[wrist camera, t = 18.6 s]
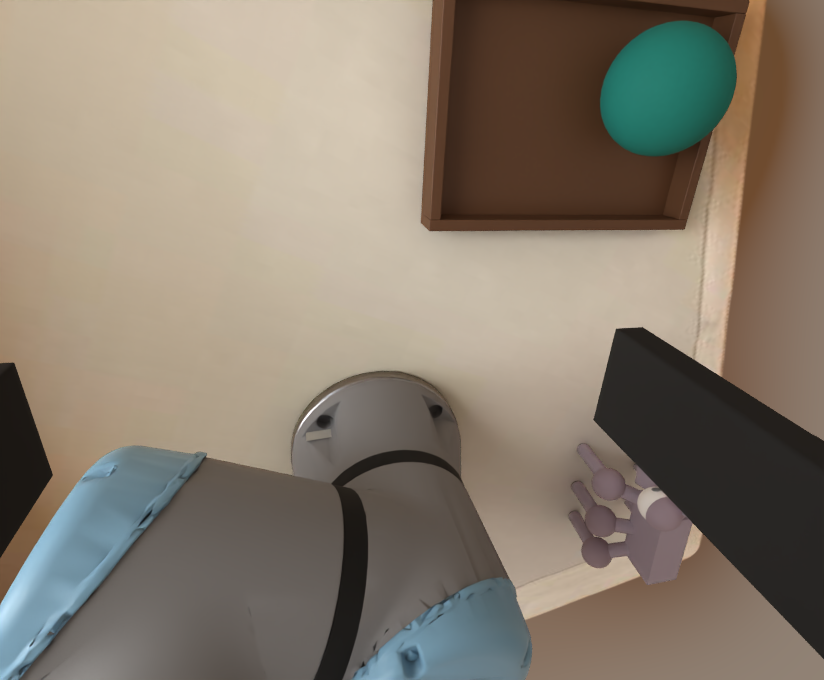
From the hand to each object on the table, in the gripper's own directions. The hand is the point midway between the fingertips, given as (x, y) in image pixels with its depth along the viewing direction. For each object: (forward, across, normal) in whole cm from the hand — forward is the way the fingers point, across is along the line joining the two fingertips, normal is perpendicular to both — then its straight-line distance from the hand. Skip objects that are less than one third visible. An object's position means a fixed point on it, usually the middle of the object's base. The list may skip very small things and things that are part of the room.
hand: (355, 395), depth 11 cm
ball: (+22, -23, -8) cm, 33 cm away
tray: (+27, -19, -6) cm, 33 cm away
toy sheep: (+27, -30, +26) cm, 48 cm away
